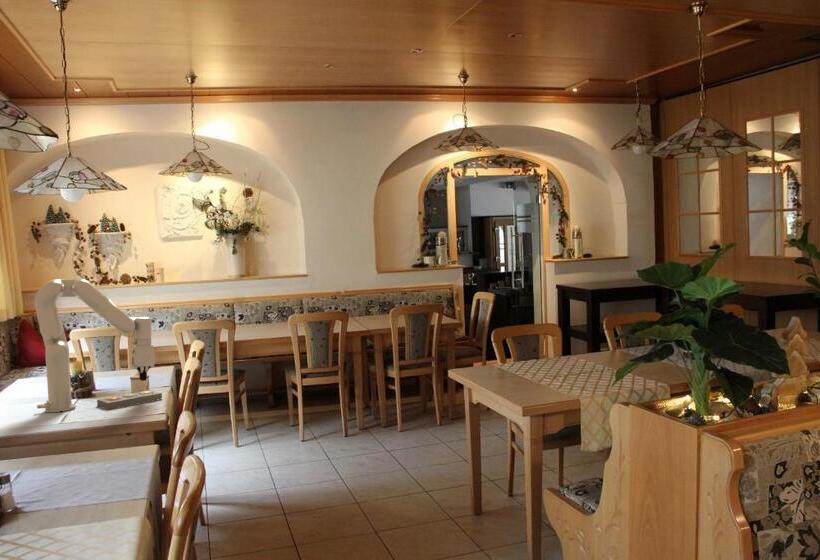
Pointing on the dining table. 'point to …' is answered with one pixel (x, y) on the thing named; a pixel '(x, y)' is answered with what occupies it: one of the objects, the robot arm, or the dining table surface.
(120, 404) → the button panel
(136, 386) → the teacup with lid
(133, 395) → the sage button
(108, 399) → the terracotta button
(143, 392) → the cream button
